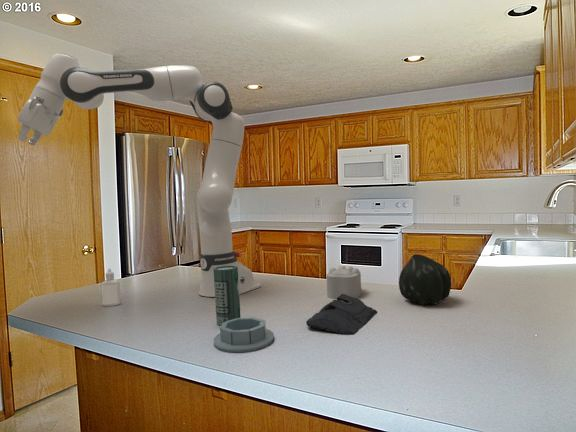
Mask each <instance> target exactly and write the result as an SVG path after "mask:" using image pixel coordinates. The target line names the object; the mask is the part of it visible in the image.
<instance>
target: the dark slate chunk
mask: <svg viewBox="0 0 576 432" xmlns="http://www.w3.org/2000/svg"><path fill="white" fill-rule="evenodd" d="M377 313H378V311H377V309H374V308H372V307H371V306H368V305H366V304H365V303H364V302H363V300H361V299H359V298H354V297H350V296H348V295H346V294H341V295H340V296H339V297H338V298H337V299H333V300H332V301H330V302H328V303H327V304H325V305H323V307H321V309H320V310H319V312H316V313H314V315H312V316H311V317H310V318H308V319H307V320H305V323H306V325H307V327H309V328H310V329H318V330H325V331H328V332H330V333H331V332H332V333H336V334H341V335H347V336H348V335H355V334H357V333H358V332H359V330H361V329H362V328H363V327H364V326H366V325H367V324H368V323H369V322H370V321H371V320H372V319H373V317H375V316H376V315H377Z"/></svg>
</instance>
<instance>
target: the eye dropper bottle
mask: <svg viewBox="0 0 576 432" xmlns="http://www.w3.org/2000/svg"><path fill="white" fill-rule="evenodd" d="M100 286H101V287H100V288H101V291H100V292H101V300H102V301H101V302H102V306H104V307H114V306H118V305H120V304H121V303H122V297H121V296H122V295H121V294H122V293H121V283H120V281H119V280H118V279H116V278H115V275H114V272H113V271H112V269H111V268H108V269H107V272H106V273H105V279H104V281H102V282H101V284H100Z"/></svg>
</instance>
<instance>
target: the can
mask: <svg viewBox="0 0 576 432" xmlns="http://www.w3.org/2000/svg"><path fill="white" fill-rule="evenodd" d="M213 271H214V287H215V297H214V301H215V315H216V325H217V326H218V327H221V325H222V323H224V322H226V321H229V320H232V319H235V318H237V319H238V318H242V317H241V303H240V294H239V283H238V267H237V266H221V267H216V268H214V269H213Z"/></svg>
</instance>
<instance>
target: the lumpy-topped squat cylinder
mask: <svg viewBox="0 0 576 432" xmlns="http://www.w3.org/2000/svg"><path fill="white" fill-rule="evenodd" d="M361 274H362V273H361V271H360V270H359V268H357V267H353V266H348V267H347V268H346V267H345V266H343V265H341V266H339V268H338V269H336V268H335V267H331V268H330V269H329V272H328V273H327V274H326V293H327V298H329V299H331V300H332V299H333V300H337V298H338V297H339V296H340V295H341V294H346V295H348V296H350V297H354V298H357V299H359V297H360V296H361V295H362V282H361V281H362V280H361V277H362V275H361Z"/></svg>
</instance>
